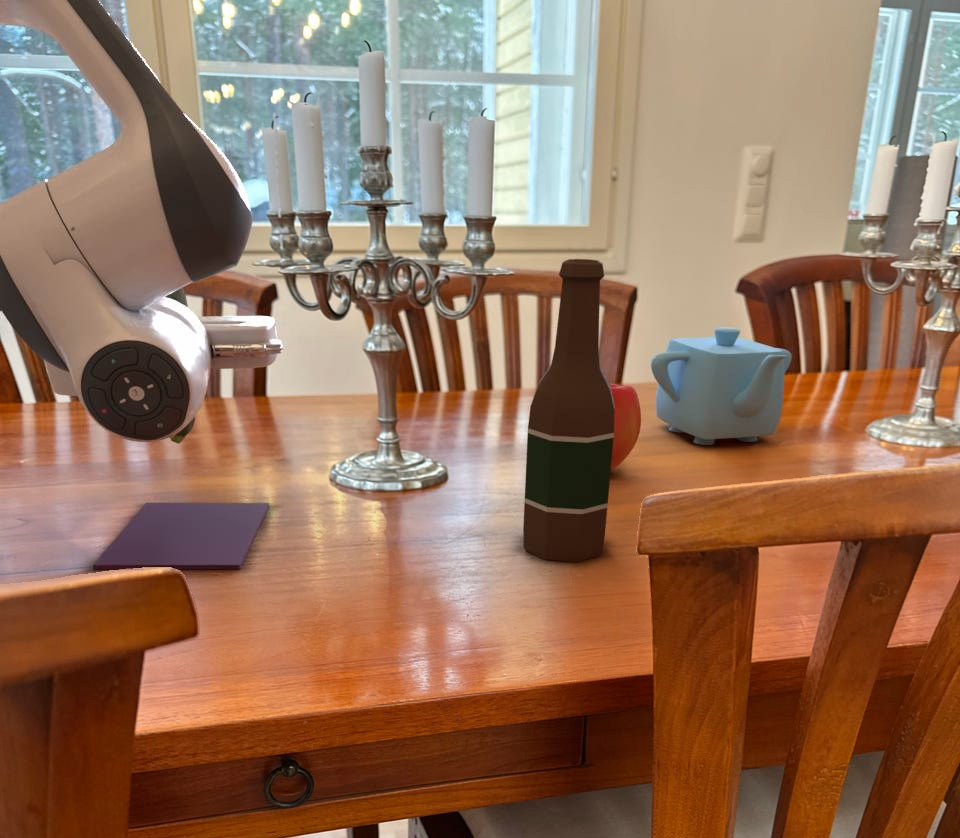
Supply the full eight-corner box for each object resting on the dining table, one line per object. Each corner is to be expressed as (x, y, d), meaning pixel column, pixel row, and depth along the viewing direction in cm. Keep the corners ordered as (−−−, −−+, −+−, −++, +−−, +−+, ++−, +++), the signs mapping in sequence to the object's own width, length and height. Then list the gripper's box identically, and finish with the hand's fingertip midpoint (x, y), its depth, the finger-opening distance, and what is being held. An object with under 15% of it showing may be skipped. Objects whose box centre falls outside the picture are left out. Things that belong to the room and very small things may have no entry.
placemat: (93, 569, 74) (92, 565, 74) (146, 506, 88) (145, 502, 88) (239, 569, 75) (239, 564, 75) (269, 506, 89) (268, 502, 89)
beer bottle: (543, 526, 86) (559, 254, 75) (619, 542, 82) (647, 260, 71) (505, 551, 80) (515, 260, 69) (585, 570, 76) (609, 266, 65)
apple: (653, 471, 103) (663, 383, 98) (602, 488, 97) (610, 395, 92) (587, 454, 109) (594, 369, 104) (536, 469, 103) (540, 380, 98)
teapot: (628, 437, 116) (639, 328, 110) (675, 413, 129) (688, 315, 122) (767, 461, 108) (787, 345, 101) (804, 433, 120) (824, 328, 114)
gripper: (280, 312, 75) (275, 293, 87) (17, 314, 71) (50, 294, 83) (286, 388, 78) (281, 360, 90) (33, 395, 74) (63, 365, 86)
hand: (168, 329), depth 86 cm, fingers closed on vegetable, 4 cm apart
